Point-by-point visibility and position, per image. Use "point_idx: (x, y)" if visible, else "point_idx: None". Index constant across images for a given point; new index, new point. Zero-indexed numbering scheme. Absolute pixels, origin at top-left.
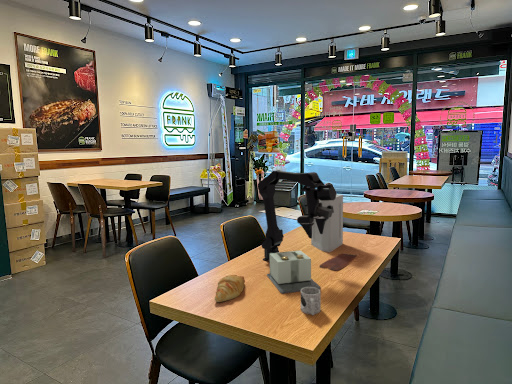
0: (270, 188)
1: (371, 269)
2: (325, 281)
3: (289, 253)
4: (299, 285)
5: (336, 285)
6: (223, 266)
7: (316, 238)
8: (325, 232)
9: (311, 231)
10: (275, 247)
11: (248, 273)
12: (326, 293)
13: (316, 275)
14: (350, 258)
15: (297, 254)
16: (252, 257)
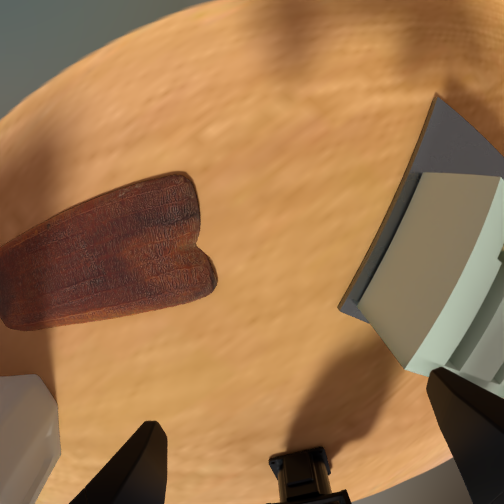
0: None
1: (51, 91)
2: (360, 126)
3: (484, 350)
4: None
5: (357, 61)
6: (438, 463)
7: (41, 457)
8: (7, 446)
9: (501, 413)
10: (297, 499)
11: None
12: (442, 60)
13: (330, 213)
14: (16, 254)
15: (471, 316)
16: None
